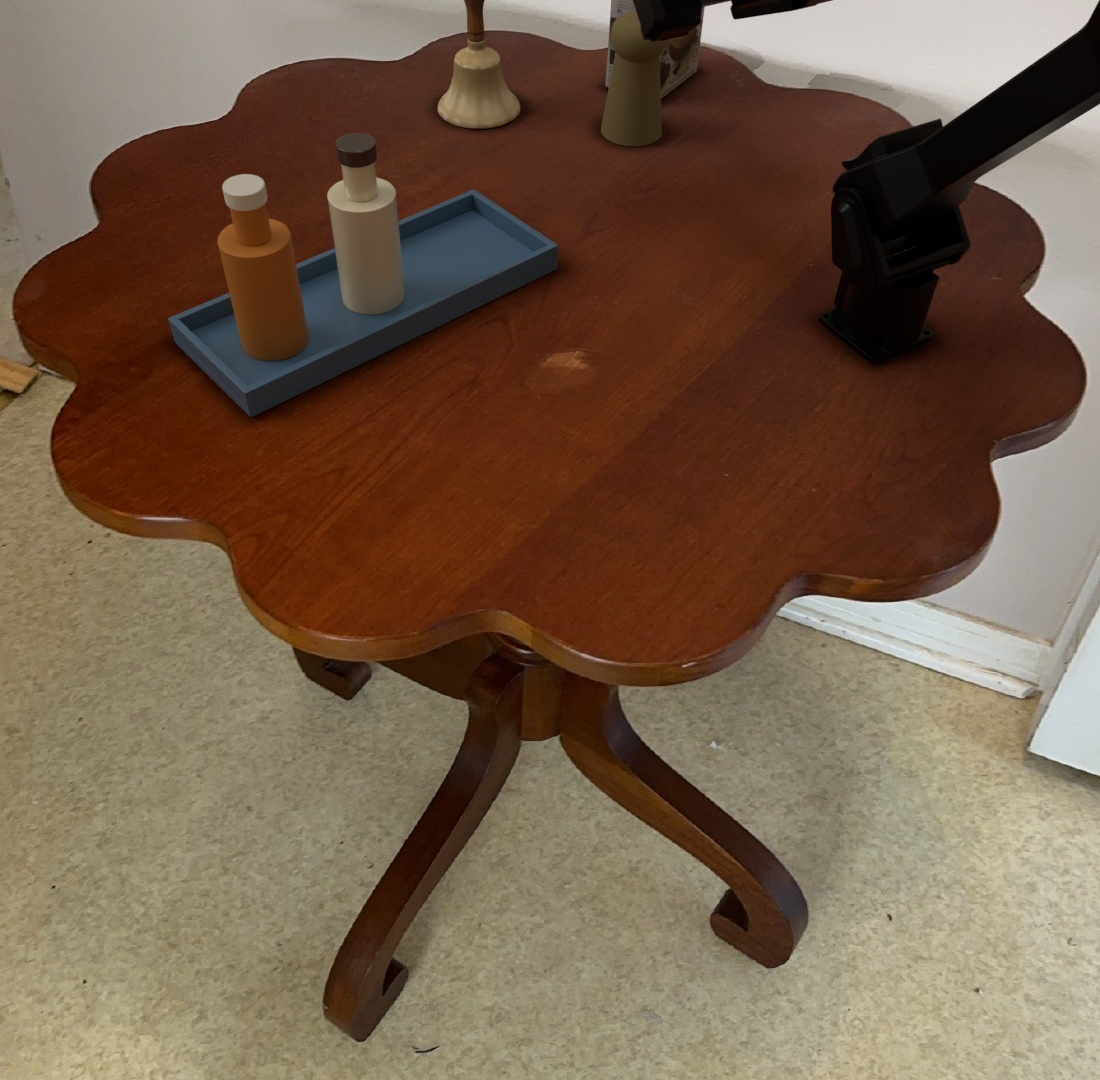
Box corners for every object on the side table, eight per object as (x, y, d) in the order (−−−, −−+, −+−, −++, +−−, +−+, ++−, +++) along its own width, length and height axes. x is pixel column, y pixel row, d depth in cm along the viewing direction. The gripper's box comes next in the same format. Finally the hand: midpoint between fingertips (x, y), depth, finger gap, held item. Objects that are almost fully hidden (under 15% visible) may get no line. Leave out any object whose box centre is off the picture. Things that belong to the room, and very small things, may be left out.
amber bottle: (319, 348, 82) (292, 192, 73) (256, 369, 80) (220, 212, 71) (293, 313, 85) (265, 158, 75) (232, 333, 83) (194, 176, 74)
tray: (474, 212, 97) (473, 188, 95) (557, 269, 91) (558, 245, 89) (174, 342, 84) (167, 318, 82) (250, 418, 78) (244, 393, 76)
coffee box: (657, 105, 111) (674, -67, 99) (603, 88, 113) (613, -83, 101) (699, 71, 116) (720, -96, 104) (647, 56, 118) (661, -110, 106)
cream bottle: (416, 303, 86) (403, 149, 77) (357, 322, 84) (337, 167, 75) (388, 271, 89) (373, 119, 79) (331, 288, 87) (308, 135, 78)
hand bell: (459, 136, 106) (452, -39, 94) (423, 100, 110) (412, -71, 99) (535, 118, 108) (537, -55, 97) (497, 83, 113) (494, -85, 101)
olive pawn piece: (657, 149, 105) (669, 33, 97) (595, 142, 106) (602, 26, 97) (666, 120, 109) (677, 6, 101) (606, 112, 110) (613, -1, 101)
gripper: (860, -203, 81) (749, -89, 95) (648, -171, 74) (563, -54, 89) (904, -52, 82) (787, 38, 97) (699, -8, 76) (607, 81, 90)
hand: (689, 23), depth 93 cm, fingers open, 9 cm apart
